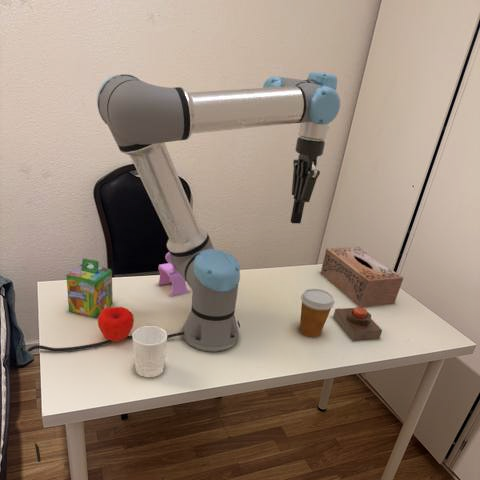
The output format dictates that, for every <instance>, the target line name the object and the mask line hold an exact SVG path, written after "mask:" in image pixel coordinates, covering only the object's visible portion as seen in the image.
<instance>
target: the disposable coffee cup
mask: <svg viewBox="0 0 480 480" xmlns="http://www.w3.org/2000/svg"><path fill="white" fill-rule="evenodd" d="M300 299H301V306H300V307H301V308H300V318H299V319H300V321H299V331H300V333H301V334H302V335H304V336H306V337H310V338H316V337H320V335H321V333H322V332H323V329H324V327H325V324H326V322H327V319H328V318H329V314H330V312H331V310H332V308H333V307H334V306H335V298H334V296H333V295H332V294H331V293H330V292H329V291H327V290H325V289H321V288H307V289H305V290H304V292H302V294H301V296H300Z"/></svg>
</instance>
